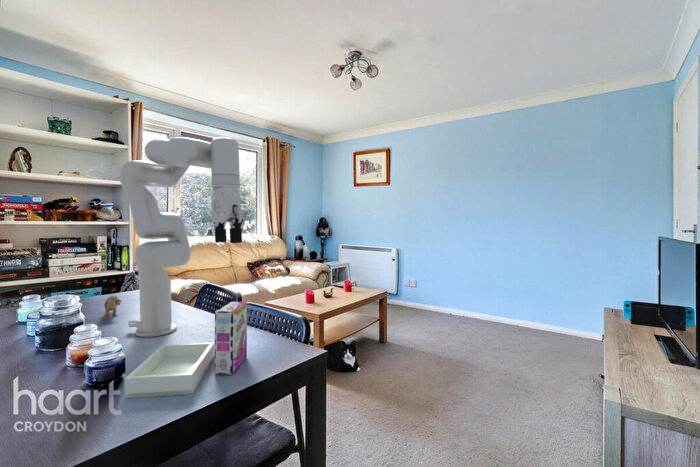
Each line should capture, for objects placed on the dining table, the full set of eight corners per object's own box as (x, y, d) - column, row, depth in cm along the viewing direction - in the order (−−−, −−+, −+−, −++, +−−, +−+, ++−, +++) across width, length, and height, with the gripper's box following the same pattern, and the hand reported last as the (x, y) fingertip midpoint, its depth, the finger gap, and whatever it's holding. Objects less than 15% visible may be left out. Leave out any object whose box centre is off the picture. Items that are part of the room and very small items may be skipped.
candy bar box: (233, 375, 85) (232, 312, 84) (214, 375, 85) (213, 311, 85) (248, 357, 96) (247, 301, 96) (231, 357, 96) (230, 300, 96)
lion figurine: (122, 317, 134) (122, 295, 134) (106, 320, 130) (106, 297, 130) (115, 310, 144) (114, 289, 144) (100, 312, 141) (99, 291, 140)
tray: (125, 398, 74) (124, 378, 74) (162, 360, 94) (162, 344, 94) (192, 394, 76) (191, 374, 76) (214, 357, 96) (214, 342, 96)
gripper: (200, 184, 99) (203, 242, 99) (226, 178, 87) (229, 243, 87) (225, 186, 104) (227, 241, 105) (253, 180, 92) (255, 242, 92)
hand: (228, 242), depth 96 cm, fingers open, 9 cm apart
